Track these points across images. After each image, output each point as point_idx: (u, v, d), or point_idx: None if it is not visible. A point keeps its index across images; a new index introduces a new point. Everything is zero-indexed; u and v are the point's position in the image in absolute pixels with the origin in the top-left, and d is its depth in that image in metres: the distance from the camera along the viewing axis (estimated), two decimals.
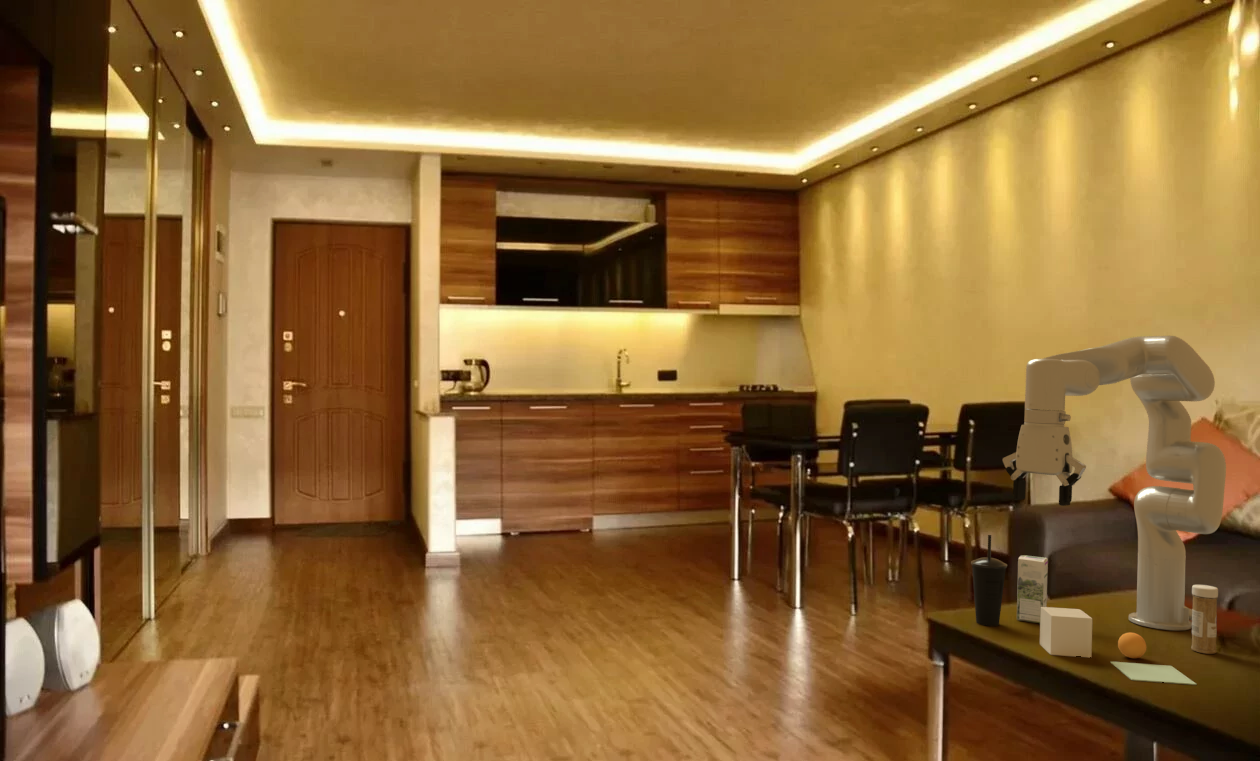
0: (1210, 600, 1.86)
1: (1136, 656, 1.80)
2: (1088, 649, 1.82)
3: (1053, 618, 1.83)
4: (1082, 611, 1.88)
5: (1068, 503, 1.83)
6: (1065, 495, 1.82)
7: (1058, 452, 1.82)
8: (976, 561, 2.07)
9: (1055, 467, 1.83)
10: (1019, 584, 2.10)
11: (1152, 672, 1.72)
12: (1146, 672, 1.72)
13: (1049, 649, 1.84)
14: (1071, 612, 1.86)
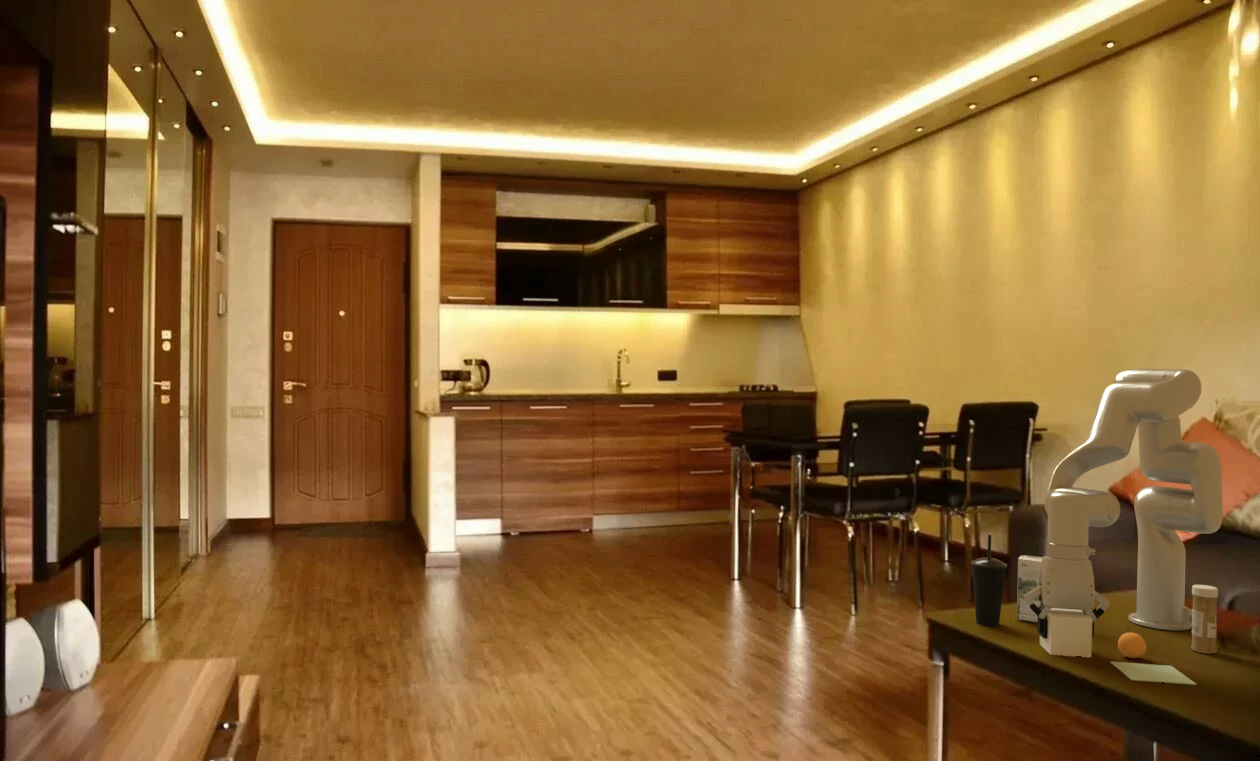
0: (1210, 600, 1.86)
1: (1136, 656, 1.80)
2: (1088, 649, 1.82)
3: (1053, 618, 1.83)
4: (1082, 611, 1.87)
5: None
6: None
7: (1092, 587, 1.84)
8: (976, 561, 2.07)
9: (1089, 602, 1.84)
10: (1019, 584, 2.10)
11: (1152, 672, 1.72)
12: (1146, 672, 1.72)
13: (1049, 649, 1.84)
14: (1071, 612, 1.86)
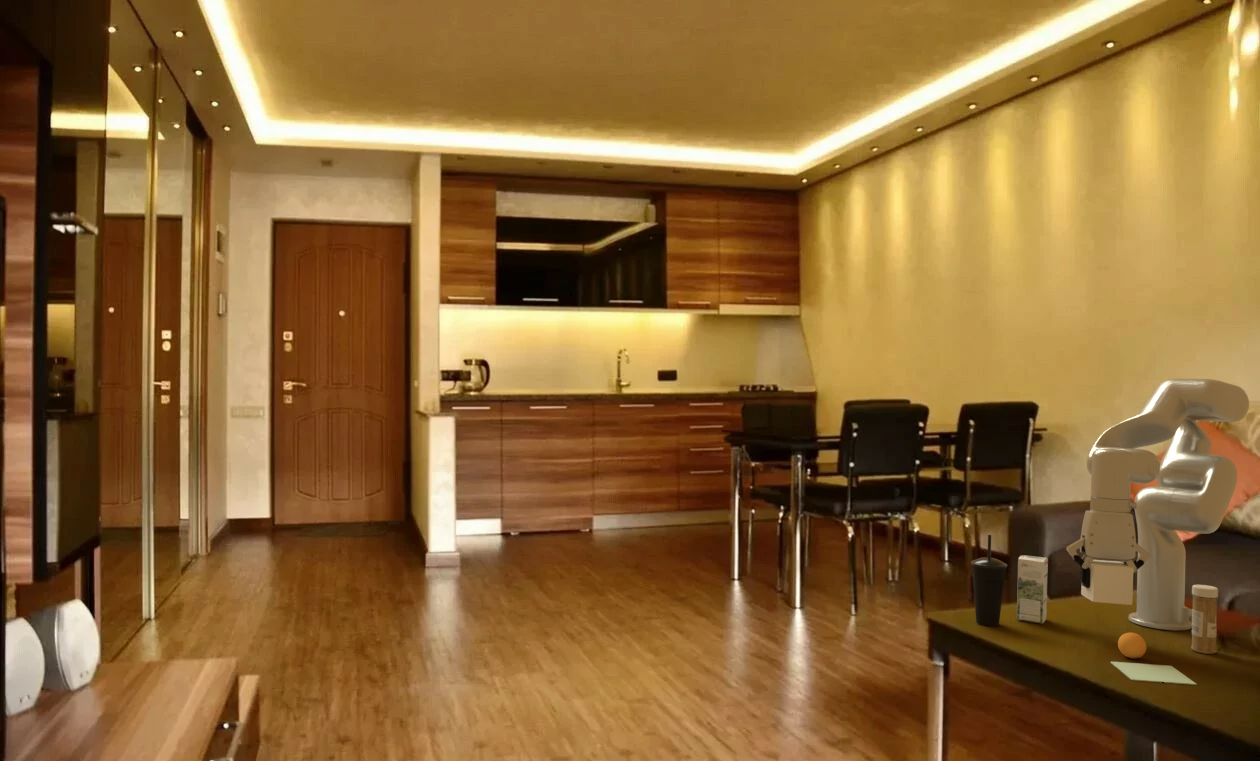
0: (1210, 600, 1.86)
1: (1136, 656, 1.80)
2: (1129, 597, 1.91)
3: (1096, 567, 1.93)
4: (1123, 563, 1.97)
5: None
6: None
7: (1133, 539, 1.93)
8: (976, 561, 2.07)
9: (1130, 553, 1.93)
10: (1019, 584, 2.10)
11: (1152, 672, 1.72)
12: (1146, 672, 1.72)
13: (1092, 597, 1.93)
14: (1112, 563, 1.96)
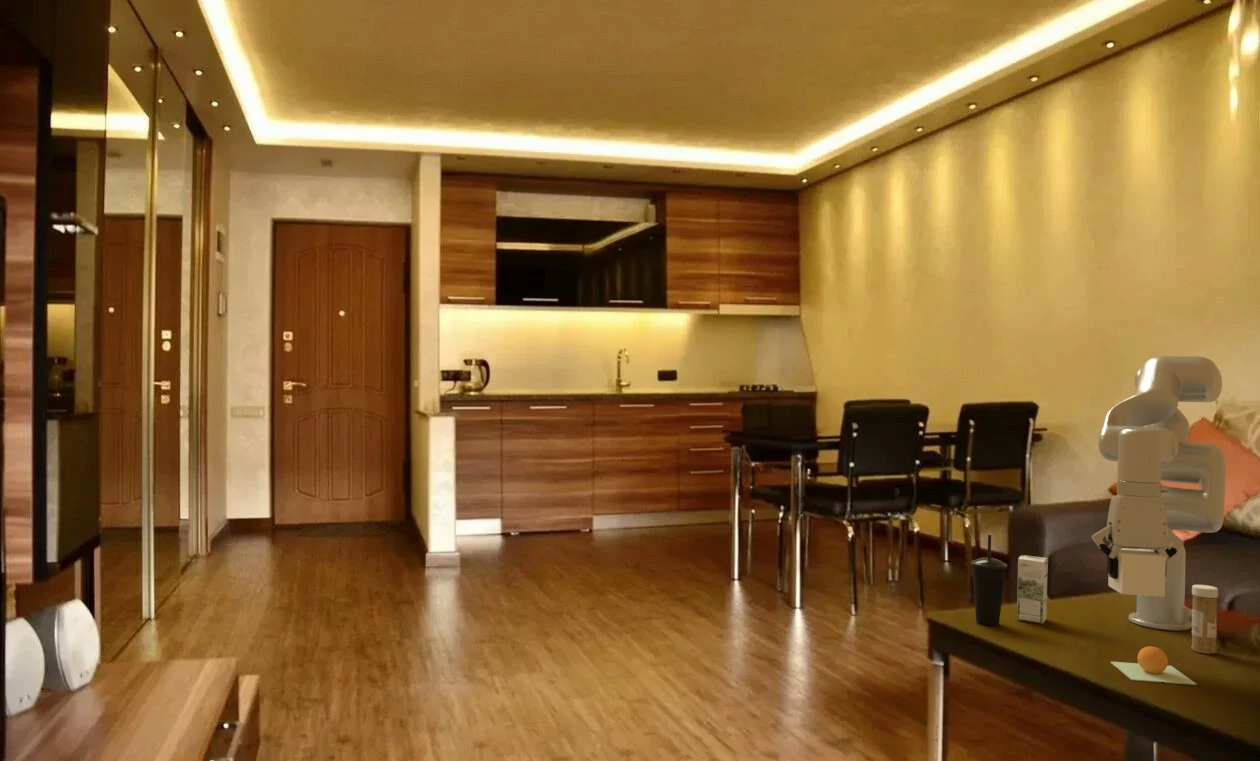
0: (1210, 600, 1.86)
1: (1152, 646, 1.73)
2: (1161, 588, 1.77)
3: (1125, 556, 1.78)
4: (1153, 551, 1.82)
5: None
6: None
7: (1165, 526, 1.78)
8: (976, 561, 2.07)
9: (1162, 541, 1.78)
10: (1019, 584, 2.10)
11: None
12: (1146, 672, 1.72)
13: (1120, 588, 1.78)
14: (1142, 551, 1.81)
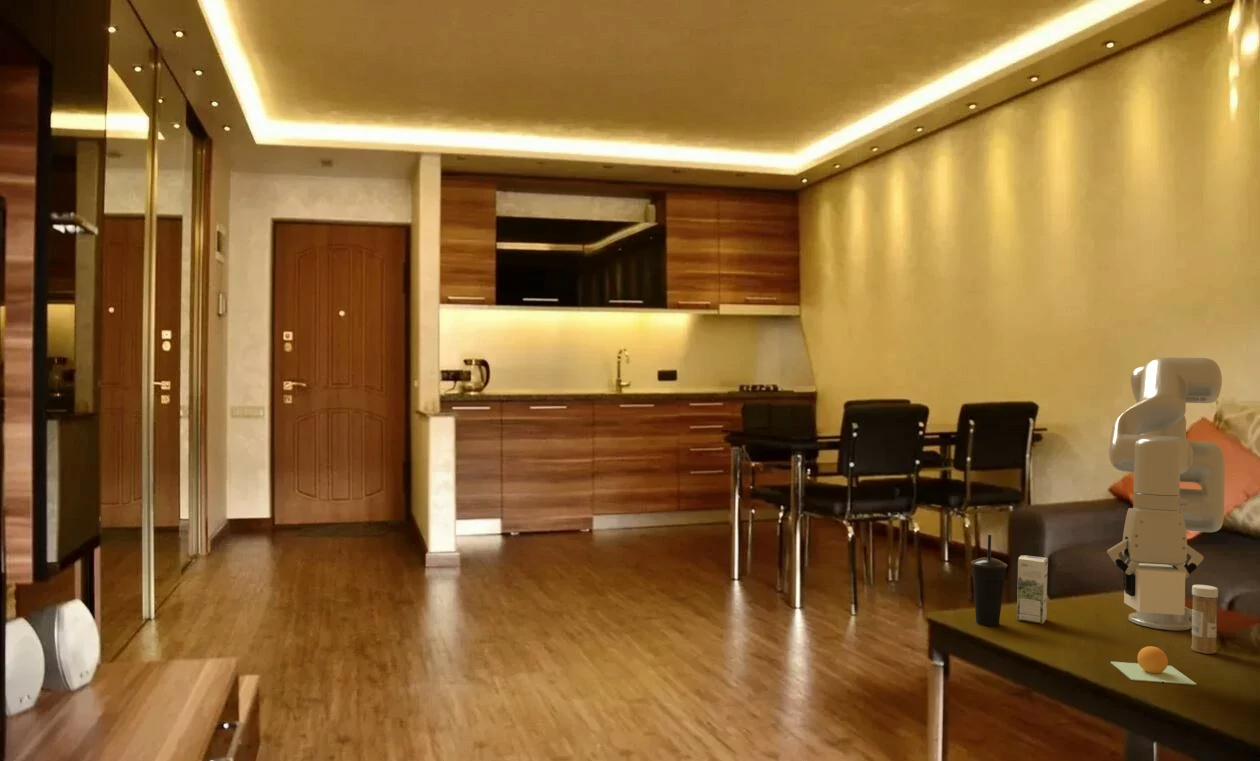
0: (1210, 600, 1.86)
1: (1152, 646, 1.73)
2: (1181, 606, 1.68)
3: (1142, 573, 1.69)
4: (1171, 566, 1.74)
5: None
6: None
7: (1184, 540, 1.70)
8: (976, 561, 2.07)
9: (1181, 556, 1.70)
10: (1019, 584, 2.10)
11: None
12: (1146, 672, 1.72)
13: (1138, 606, 1.70)
14: (1160, 567, 1.73)
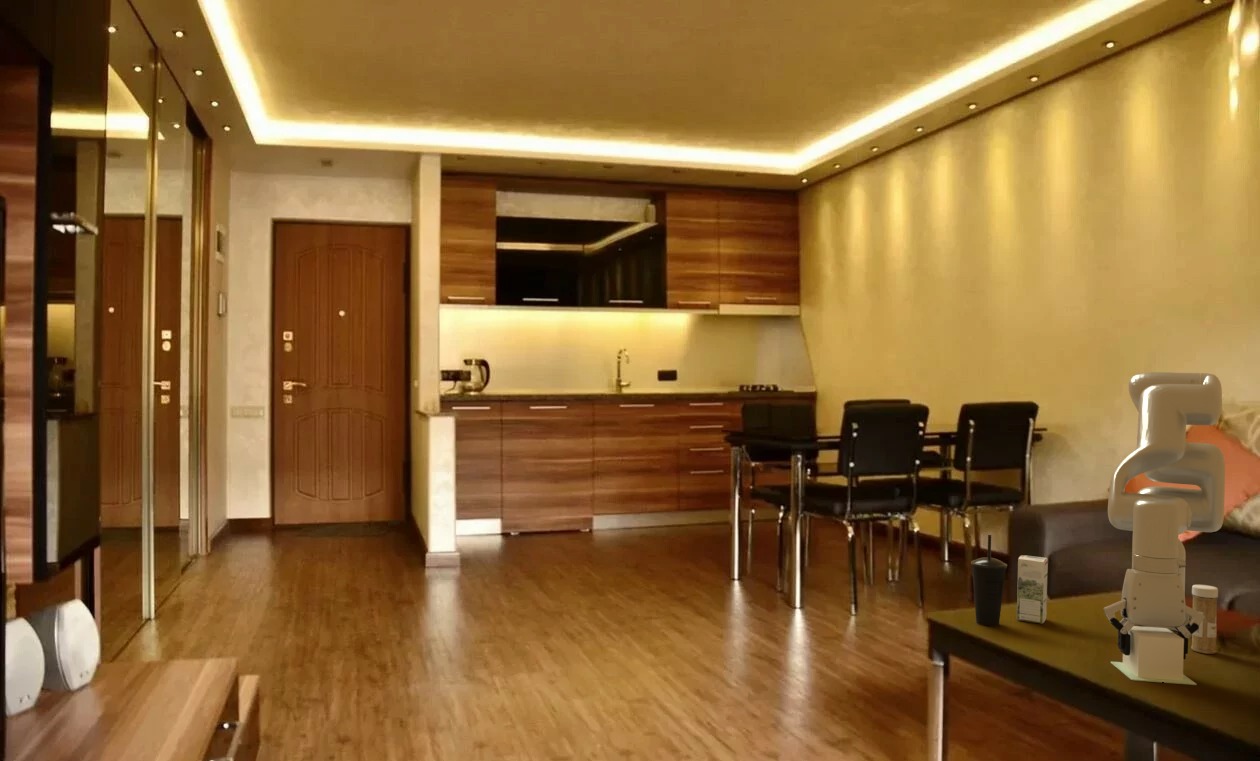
0: (1210, 600, 1.86)
1: None
2: (1179, 672, 1.68)
3: (1141, 638, 1.69)
4: None
5: None
6: None
7: (1183, 603, 1.70)
8: (976, 561, 2.07)
9: (1180, 619, 1.70)
10: (1019, 584, 2.10)
11: None
12: None
13: (1136, 672, 1.70)
14: (1158, 632, 1.73)
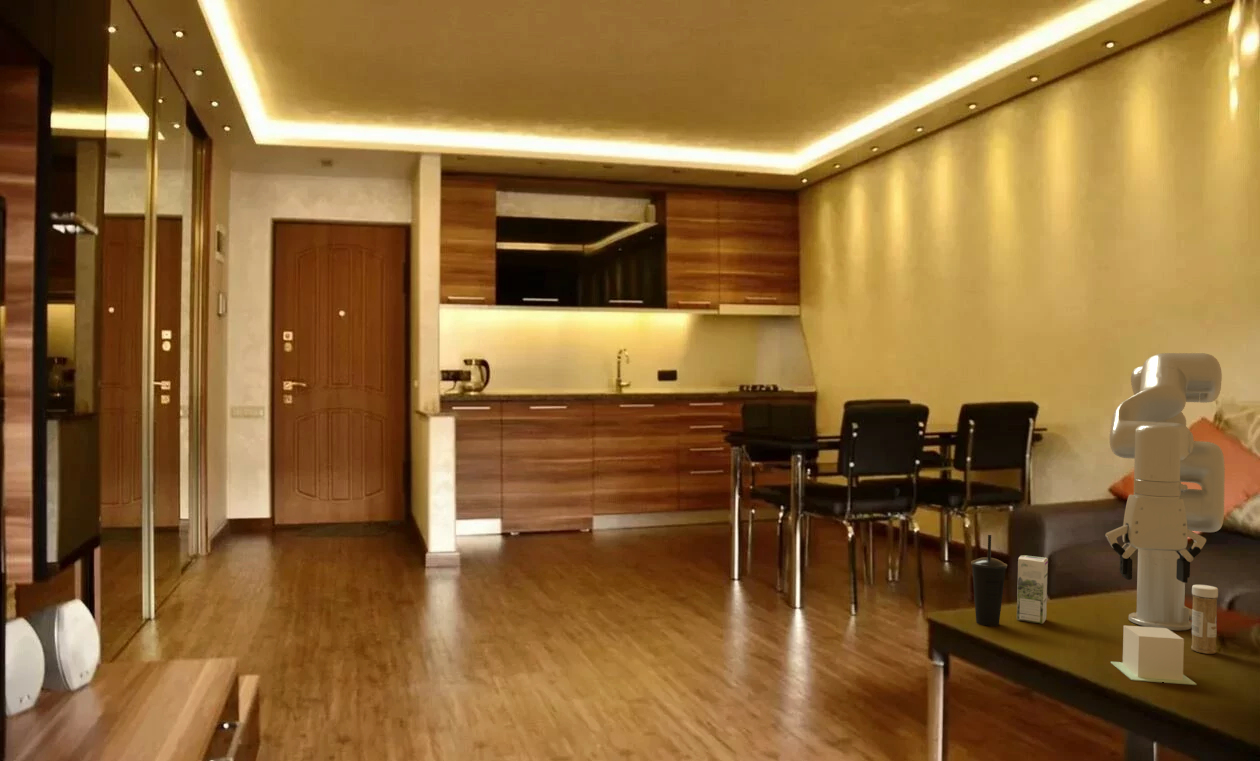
0: (1210, 600, 1.86)
1: None
2: (1179, 672, 1.68)
3: (1141, 638, 1.69)
4: None
5: None
6: None
7: (1185, 526, 1.70)
8: (976, 561, 2.07)
9: (1182, 543, 1.70)
10: (1019, 584, 2.10)
11: None
12: None
13: (1136, 672, 1.70)
14: (1158, 632, 1.73)
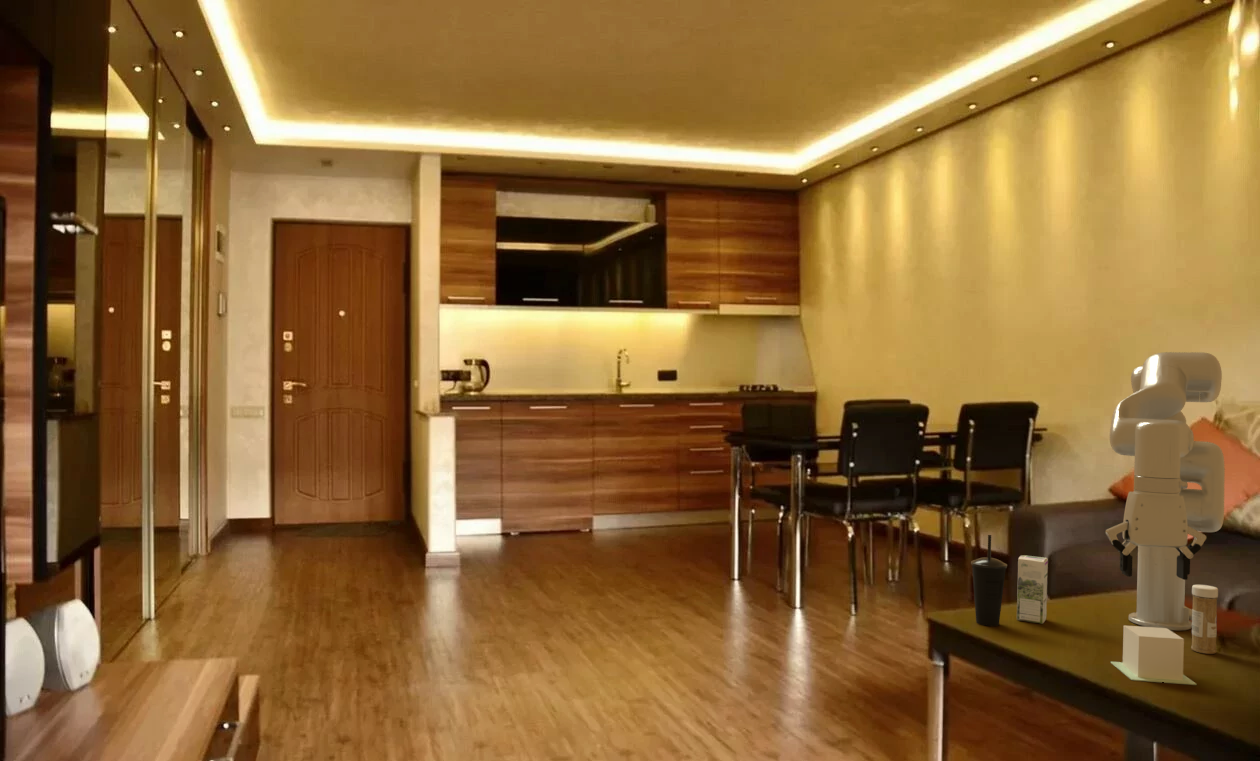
0: (1210, 600, 1.86)
1: None
2: (1179, 672, 1.68)
3: (1141, 638, 1.69)
4: None
5: None
6: None
7: (1185, 523, 1.70)
8: (976, 561, 2.07)
9: (1182, 539, 1.70)
10: (1019, 584, 2.10)
11: None
12: None
13: (1136, 672, 1.70)
14: (1158, 632, 1.73)
